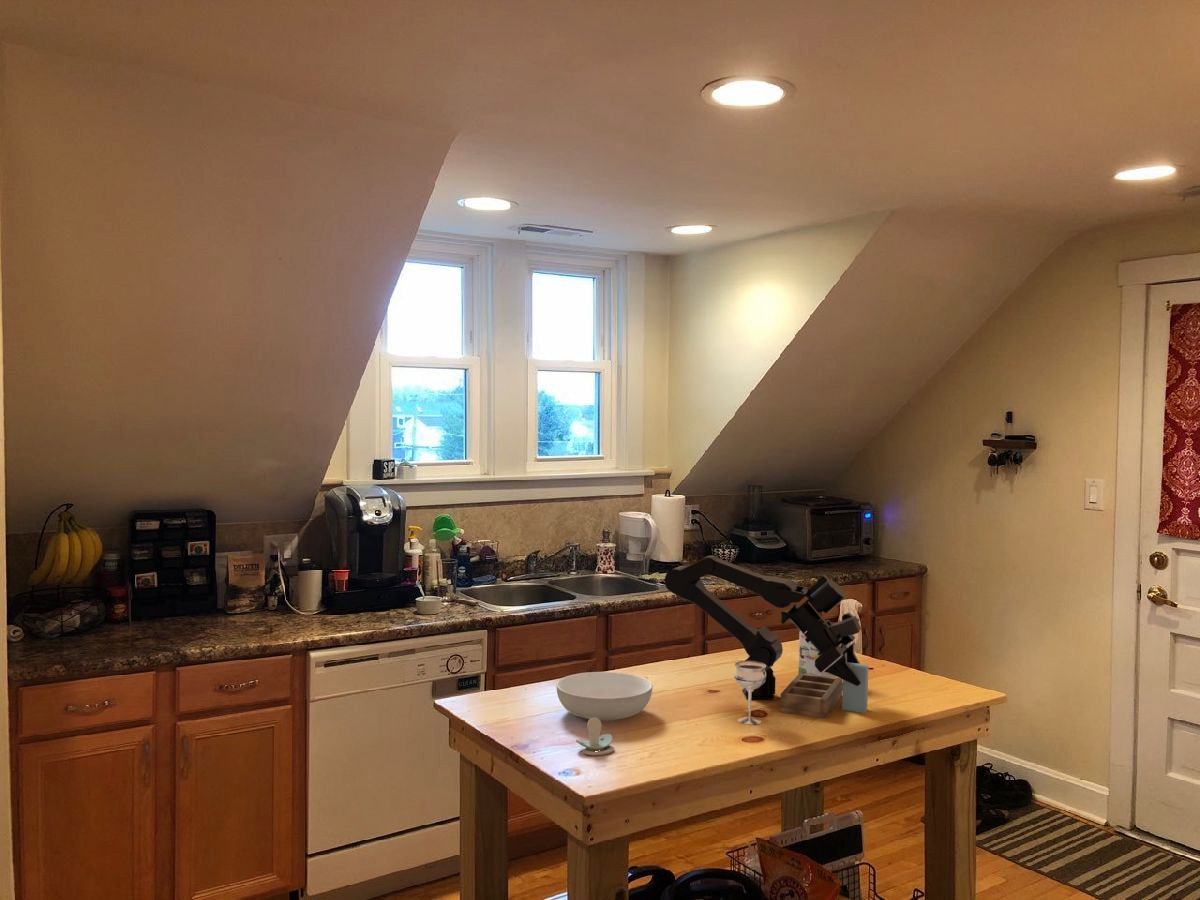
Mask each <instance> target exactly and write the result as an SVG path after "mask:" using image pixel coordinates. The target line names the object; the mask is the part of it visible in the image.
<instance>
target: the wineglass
mask: <svg viewBox="0 0 1200 900" xmlns="http://www.w3.org/2000/svg"><path fill="white" fill-rule="evenodd" d="M734 665H735V669H734V676H733V677H734V679H735V682H736V683H737V684H738V685H739V687H742V689H744V688H745V689H746V690H747V691H748V699H747V700H748V703H747V705H748V708H747V709H748V716H742V717H739V718H738V719H737V722H739V723H740V724H743V725H748V726H749V725H750V726H751V725H754V726H755V725H758V724H759V725H760V724H761V723H762V720H761V719H760V718H757V717H754V716H751V713H752V711H751V710H752V699H751V698H752V692H753V691H754V689H757V688H759V687H760V686H761V685H763V684H764V682H765V680H766V671H765V668H766V665H765V664H764V663H761V662H756V661H745V660H742V661H741V660H740V661H737V662H735V663H734Z"/></svg>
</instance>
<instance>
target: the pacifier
mask: <svg viewBox="0 0 1200 900" xmlns="http://www.w3.org/2000/svg"><path fill="white" fill-rule="evenodd" d="M602 725H603V724H602V721H600V720H599V719H598V718H596V717H593V718H591V719H588V721H587V725H586V727H587V731H588V733H589V735H588V736H589V737H588V739H589V740H588V741H586V740H582V739H581V740H579V739H576V740H575V741H576V743H578V744H579V745H580V746H582V747H584V749H583V751H582V753H583V754H585V755H588V756H603V754H604V755H608V754H610V753H612V752H614V750H615V747H614V746H612V745H611V743H613V736H612V735H611V734H610V733H606V734H601V735H600V733H601V730H602V727H603V726H602ZM606 748H608V749H606ZM603 749H604V750H603ZM599 750H602V751H599ZM595 751H598V752H595Z"/></svg>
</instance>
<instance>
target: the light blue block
mask: <svg viewBox="0 0 1200 900" xmlns="http://www.w3.org/2000/svg"><path fill="white" fill-rule="evenodd" d="M847 663H848V664H849V666H850V667H851V669H852V670H853V671H854V673H855V674H856V676H857V677H858V679H859V681H860V682H861V684H860V685H858V686H856V685H854V684H851V683H849V682H847V681H845V680H843V679H842V696H841V697H842V699H841V701H842V702H841V710H843V711H848V712H856V713H860V714H861V713H863V714H866V713H867V710H868V698H869V697H868V696H869V694H868V693H869V691H868V690H869V664H864V663H860V664H858V663H850V662H847Z"/></svg>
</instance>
